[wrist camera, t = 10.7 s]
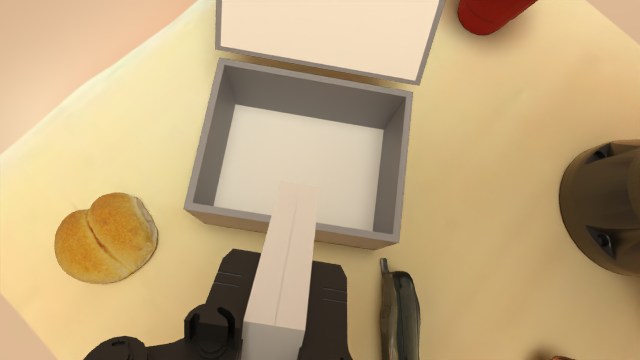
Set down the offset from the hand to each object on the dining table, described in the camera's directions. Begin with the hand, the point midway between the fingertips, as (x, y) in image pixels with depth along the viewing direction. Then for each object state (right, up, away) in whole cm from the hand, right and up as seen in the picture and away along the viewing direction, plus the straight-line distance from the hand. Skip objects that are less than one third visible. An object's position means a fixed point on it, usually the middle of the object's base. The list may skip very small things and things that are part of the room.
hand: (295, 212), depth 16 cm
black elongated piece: (+8, -14, +25) cm, 30 cm away
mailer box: (-1, +2, +27) cm, 27 cm away
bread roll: (-20, -5, +24) cm, 32 cm away
